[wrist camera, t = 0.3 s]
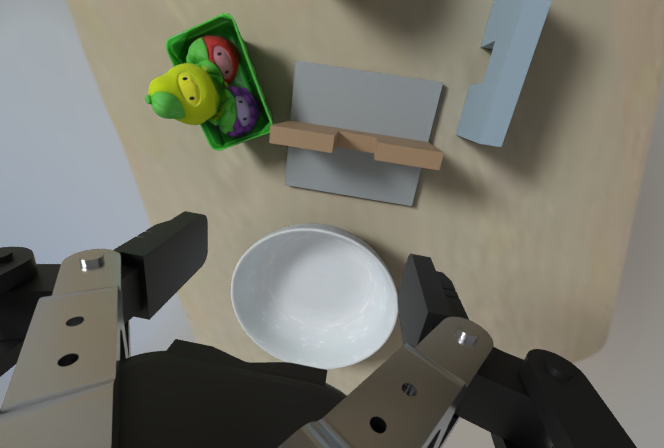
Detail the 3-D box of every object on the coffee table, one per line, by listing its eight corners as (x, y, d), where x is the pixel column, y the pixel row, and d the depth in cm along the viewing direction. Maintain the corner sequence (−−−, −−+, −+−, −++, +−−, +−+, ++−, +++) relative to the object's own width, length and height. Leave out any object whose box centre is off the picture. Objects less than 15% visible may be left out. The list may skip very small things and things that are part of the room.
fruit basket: (287, 127, 37) (256, 137, 27) (222, 149, 39) (170, 167, 29) (249, 22, 34) (196, -13, 23) (180, 52, 35) (102, 32, 25)
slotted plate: (497, -14, 30) (540, -51, 23) (518, -11, 30) (568, -47, 23) (455, 134, 35) (479, 143, 28) (473, 137, 35) (501, 147, 28)
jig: (296, 61, 34) (275, 49, 26) (441, 83, 34) (464, 77, 26) (286, 183, 40) (265, 204, 32) (410, 204, 39) (422, 231, 31)
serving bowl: (252, 196, 41) (231, 213, 35) (409, 223, 40) (417, 247, 34) (245, 321, 49) (227, 354, 43) (377, 346, 48) (378, 384, 42)
